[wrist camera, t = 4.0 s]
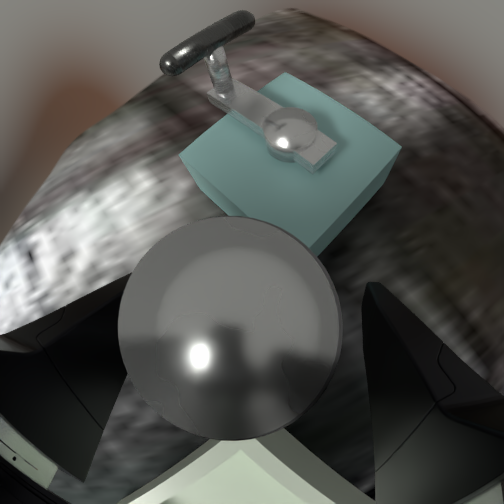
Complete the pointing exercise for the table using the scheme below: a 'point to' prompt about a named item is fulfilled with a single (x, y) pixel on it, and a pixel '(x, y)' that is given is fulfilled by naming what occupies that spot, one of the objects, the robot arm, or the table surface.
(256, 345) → the pin
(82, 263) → the table surface
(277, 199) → the crank block
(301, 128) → the crank handle
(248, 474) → the tray
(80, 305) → the robot arm
